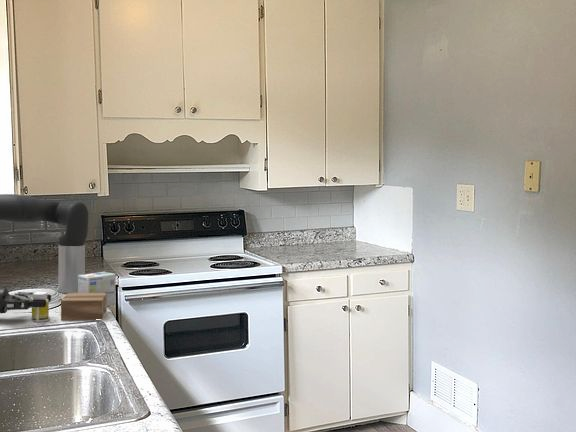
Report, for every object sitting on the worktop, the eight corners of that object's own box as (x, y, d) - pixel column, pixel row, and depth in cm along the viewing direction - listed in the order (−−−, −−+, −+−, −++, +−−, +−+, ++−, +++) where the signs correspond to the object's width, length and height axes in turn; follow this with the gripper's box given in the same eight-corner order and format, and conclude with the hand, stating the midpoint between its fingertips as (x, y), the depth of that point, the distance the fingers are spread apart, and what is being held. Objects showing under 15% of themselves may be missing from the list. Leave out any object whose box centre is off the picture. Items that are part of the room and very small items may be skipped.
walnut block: (67, 311, 210) (67, 292, 209) (106, 311, 212) (106, 292, 211) (60, 320, 198) (61, 300, 197) (101, 320, 200) (102, 300, 199)
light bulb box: (104, 302, 225) (104, 271, 224) (116, 305, 221) (116, 273, 220) (76, 306, 217) (77, 274, 216) (88, 310, 213) (89, 277, 212)
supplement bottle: (50, 318, 199) (50, 291, 199) (45, 322, 195) (45, 294, 194) (34, 318, 199) (35, 291, 198) (29, 322, 194) (29, 294, 194)
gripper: (-18, 293, 187) (43, 293, 189) (-4, 283, 201) (53, 283, 203) (-18, 318, 187) (43, 318, 190) (-4, 307, 201) (53, 307, 204)
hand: (48, 300), depth 197 cm, fingers open, 6 cm apart
